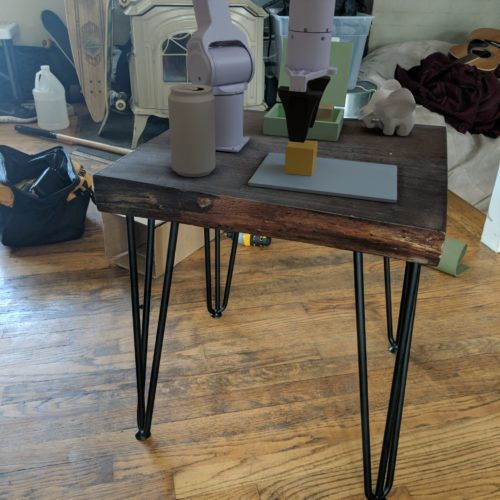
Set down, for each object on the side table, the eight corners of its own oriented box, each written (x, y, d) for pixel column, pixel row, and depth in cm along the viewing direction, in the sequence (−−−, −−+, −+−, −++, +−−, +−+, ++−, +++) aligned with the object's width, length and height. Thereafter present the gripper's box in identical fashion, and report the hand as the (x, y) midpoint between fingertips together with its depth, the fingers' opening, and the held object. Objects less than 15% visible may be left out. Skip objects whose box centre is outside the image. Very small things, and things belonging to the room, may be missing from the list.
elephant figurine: (350, 123, 102) (356, 77, 97) (411, 125, 101) (419, 79, 97) (358, 137, 93) (364, 87, 89) (424, 139, 93) (434, 89, 89)
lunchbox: (336, 141, 91) (338, 123, 89) (262, 134, 93) (263, 116, 92) (342, 125, 100) (344, 108, 99) (275, 119, 103) (276, 103, 102)
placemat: (247, 185, 71) (247, 182, 71) (269, 155, 83) (269, 152, 83) (396, 203, 67) (397, 199, 67) (396, 168, 79) (397, 165, 79)
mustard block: (284, 173, 74) (285, 146, 72) (289, 164, 78) (290, 138, 76) (311, 176, 73) (314, 149, 72) (315, 167, 77) (317, 141, 75)
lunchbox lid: (353, 42, 97) (353, 46, 100) (283, 38, 100) (286, 42, 103) (344, 106, 98) (345, 109, 101) (276, 100, 101) (278, 103, 104)
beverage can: (208, 180, 72) (207, 93, 66) (165, 176, 73) (160, 90, 68) (220, 166, 78) (220, 84, 72) (179, 162, 79) (176, 81, 73)
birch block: (308, 129, 95) (310, 107, 93) (311, 123, 98) (313, 102, 96) (329, 131, 94) (332, 109, 92) (332, 125, 97) (334, 104, 95)
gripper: (335, 38, 60) (323, 152, 66) (346, 27, 72) (335, 123, 78) (275, 34, 61) (269, 146, 68) (296, 24, 73) (289, 119, 80)
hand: (301, 134), depth 73 cm, fingers open, 7 cm apart
